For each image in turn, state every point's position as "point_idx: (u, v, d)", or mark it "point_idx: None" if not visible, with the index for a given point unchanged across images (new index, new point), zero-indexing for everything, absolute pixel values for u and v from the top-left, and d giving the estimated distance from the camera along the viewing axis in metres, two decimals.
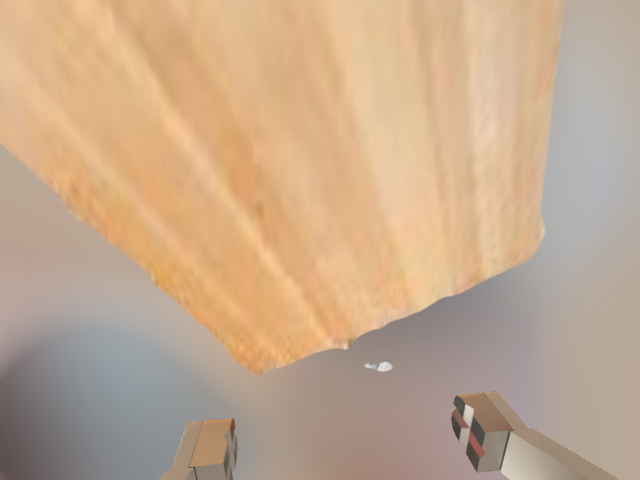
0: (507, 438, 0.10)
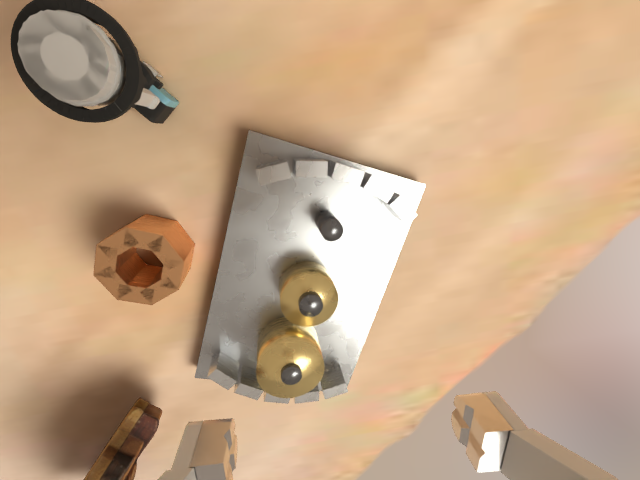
0: (507, 438, 0.10)
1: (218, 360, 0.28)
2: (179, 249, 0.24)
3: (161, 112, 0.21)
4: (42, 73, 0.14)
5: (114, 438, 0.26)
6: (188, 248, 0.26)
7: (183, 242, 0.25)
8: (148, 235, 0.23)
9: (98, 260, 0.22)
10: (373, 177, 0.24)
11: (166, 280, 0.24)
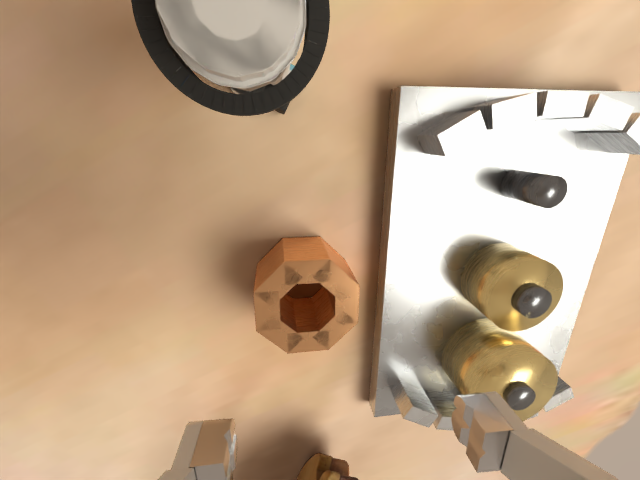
0: (507, 438, 0.10)
1: (406, 393, 0.22)
2: (347, 271, 0.18)
3: None
4: (199, 40, 0.08)
5: None
6: (347, 267, 0.20)
7: (341, 261, 0.19)
8: (313, 264, 0.17)
9: (259, 311, 0.17)
10: (602, 97, 0.16)
11: (341, 315, 0.18)
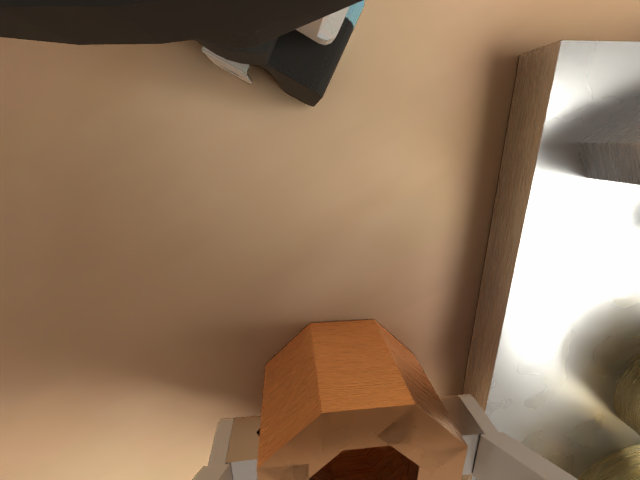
0: (477, 442, 0.10)
1: None
2: (439, 410, 0.09)
3: (340, 56, 0.07)
4: None
5: None
6: (428, 382, 0.11)
7: (417, 374, 0.11)
8: (380, 414, 0.08)
9: None
10: None
11: None
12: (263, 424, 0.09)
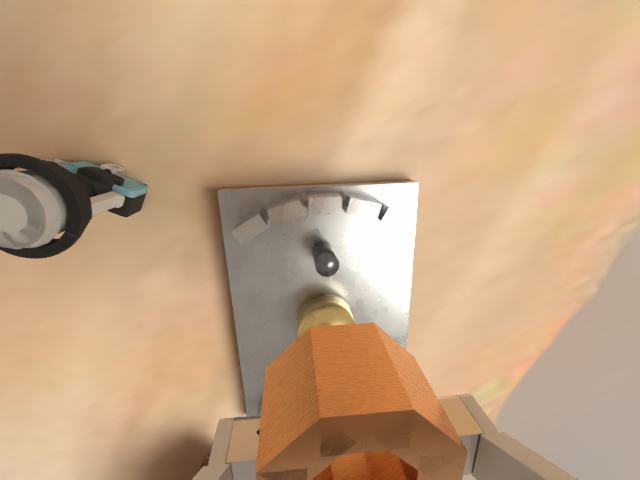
0: (477, 441, 0.10)
1: None
2: (438, 415, 0.09)
3: (131, 205, 0.22)
4: None
5: None
6: (428, 386, 0.11)
7: (417, 378, 0.11)
8: (378, 420, 0.08)
9: None
10: (353, 199, 0.22)
11: None
12: (262, 428, 0.09)
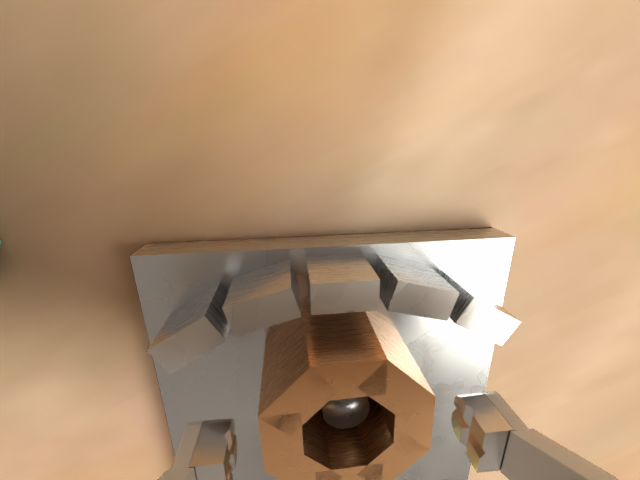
0: (507, 438, 0.10)
1: None
2: (411, 369, 0.11)
3: None
4: None
5: None
6: (406, 349, 0.12)
7: (396, 342, 0.12)
8: (358, 369, 0.10)
9: (268, 444, 0.10)
10: (402, 284, 0.11)
11: (404, 440, 0.11)
12: (263, 384, 0.11)
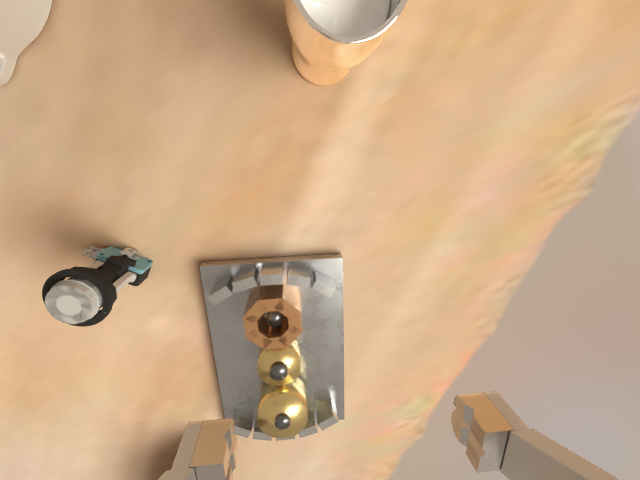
0: (507, 438, 0.10)
1: (235, 418, 0.39)
2: (294, 303, 0.32)
3: (140, 278, 0.33)
4: (61, 316, 0.25)
5: None
6: (298, 299, 0.34)
7: (294, 296, 0.34)
8: (273, 301, 0.31)
9: (246, 326, 0.32)
10: (290, 275, 0.32)
11: (292, 327, 0.33)
12: (245, 309, 0.33)
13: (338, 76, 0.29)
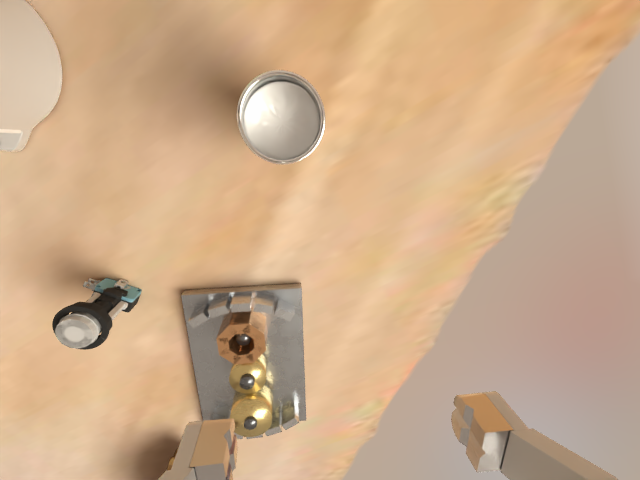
0: (507, 438, 0.10)
1: None
2: (259, 327, 0.40)
3: (131, 305, 0.39)
4: (68, 342, 0.32)
5: None
6: (263, 323, 0.41)
7: (260, 320, 0.41)
8: (241, 326, 0.38)
9: (219, 346, 0.39)
10: (256, 304, 0.39)
11: (257, 347, 0.40)
12: (219, 331, 0.40)
13: None
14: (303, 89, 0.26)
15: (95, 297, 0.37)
